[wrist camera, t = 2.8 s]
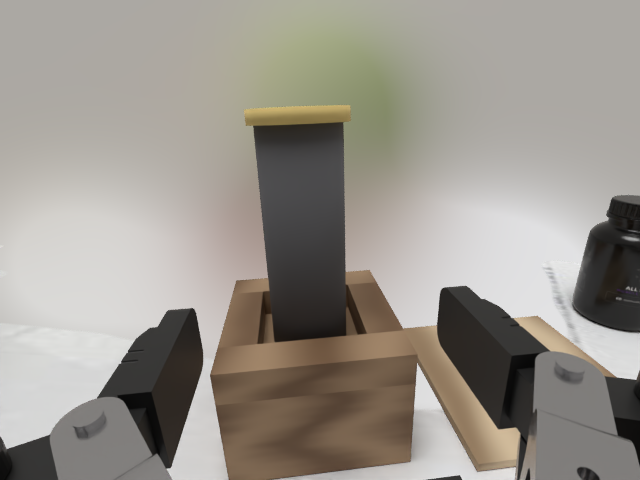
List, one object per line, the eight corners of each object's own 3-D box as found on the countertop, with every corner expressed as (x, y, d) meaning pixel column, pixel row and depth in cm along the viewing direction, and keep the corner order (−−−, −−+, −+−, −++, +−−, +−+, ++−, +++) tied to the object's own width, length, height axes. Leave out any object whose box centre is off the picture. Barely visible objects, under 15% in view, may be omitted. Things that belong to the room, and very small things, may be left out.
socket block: (229, 484, 21) (210, 375, 18) (247, 361, 31) (236, 280, 28) (410, 461, 21) (417, 354, 19) (368, 349, 32) (369, 270, 29)
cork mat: (477, 471, 21) (478, 464, 21) (401, 333, 34) (401, 328, 34) (689, 443, 22) (692, 436, 22) (536, 321, 35) (537, 315, 35)
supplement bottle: (633, 341, 31) (674, 214, 27) (557, 307, 37) (581, 198, 33) (671, 321, 34) (713, 202, 30) (594, 292, 40) (620, 189, 36)
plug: (252, 334, 24) (225, 110, 19) (315, 304, 28) (305, 109, 23) (303, 377, 20) (285, 106, 15) (369, 335, 24) (372, 104, 19)
